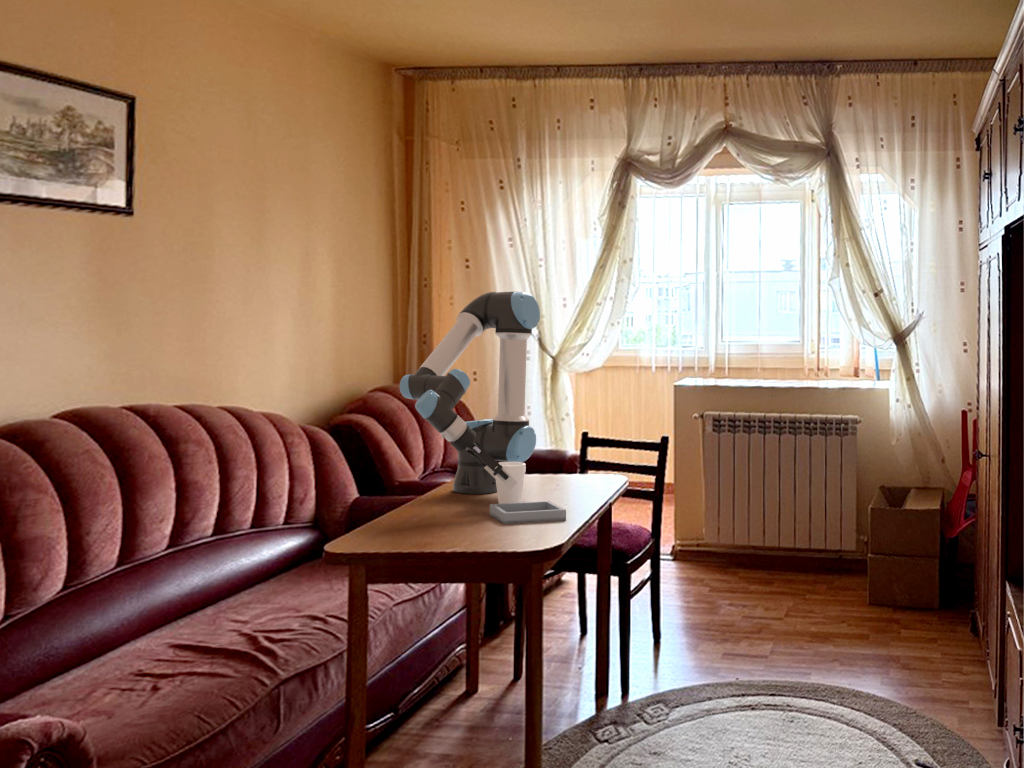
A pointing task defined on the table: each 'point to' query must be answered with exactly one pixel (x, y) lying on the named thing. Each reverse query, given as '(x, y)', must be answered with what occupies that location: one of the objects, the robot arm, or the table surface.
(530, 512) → the tray
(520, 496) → the foam cup
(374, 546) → the table surface
